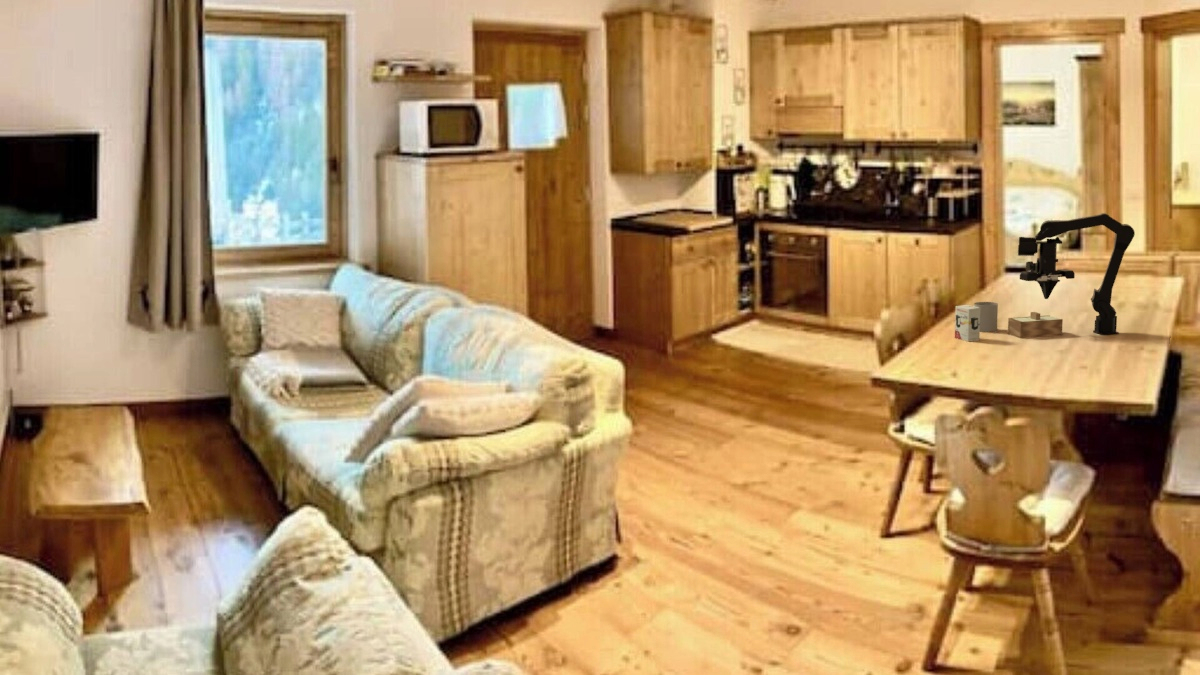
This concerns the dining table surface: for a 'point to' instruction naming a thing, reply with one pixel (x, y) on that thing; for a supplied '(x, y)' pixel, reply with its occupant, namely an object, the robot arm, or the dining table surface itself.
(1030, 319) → the lid
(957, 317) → the ink box
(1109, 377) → the dining table surface
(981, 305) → the cup
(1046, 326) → the box
